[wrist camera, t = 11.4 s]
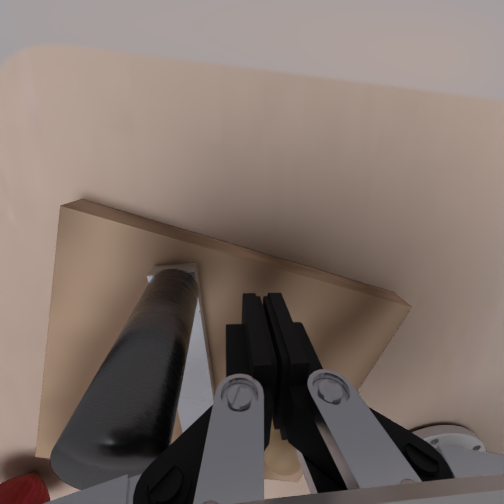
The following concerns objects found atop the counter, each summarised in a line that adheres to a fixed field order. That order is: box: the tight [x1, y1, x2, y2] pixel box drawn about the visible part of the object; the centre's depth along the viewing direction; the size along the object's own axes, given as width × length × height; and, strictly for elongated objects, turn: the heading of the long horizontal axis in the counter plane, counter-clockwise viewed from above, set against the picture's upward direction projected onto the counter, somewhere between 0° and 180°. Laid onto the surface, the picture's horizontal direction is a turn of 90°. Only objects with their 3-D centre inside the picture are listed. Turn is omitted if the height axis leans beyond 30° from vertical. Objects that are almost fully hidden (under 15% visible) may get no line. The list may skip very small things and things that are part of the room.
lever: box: [50, 263, 215, 490], centre depth 14 cm, size 20×4×9 cm, turn 3°
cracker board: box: [35, 199, 412, 482], centre depth 17 cm, size 22×20×6 cm
